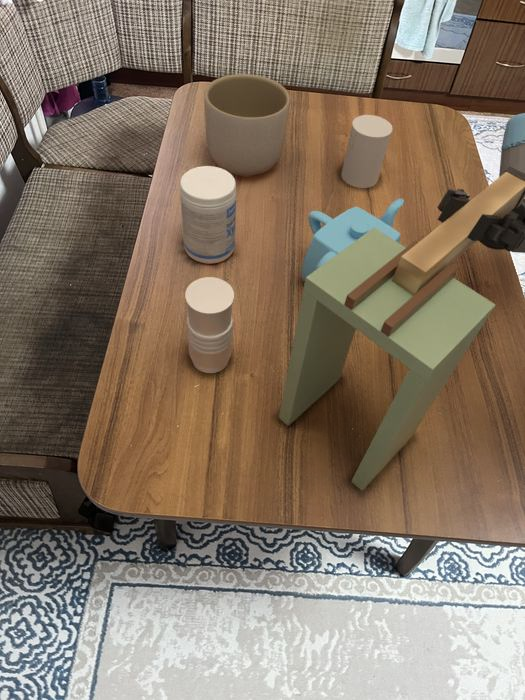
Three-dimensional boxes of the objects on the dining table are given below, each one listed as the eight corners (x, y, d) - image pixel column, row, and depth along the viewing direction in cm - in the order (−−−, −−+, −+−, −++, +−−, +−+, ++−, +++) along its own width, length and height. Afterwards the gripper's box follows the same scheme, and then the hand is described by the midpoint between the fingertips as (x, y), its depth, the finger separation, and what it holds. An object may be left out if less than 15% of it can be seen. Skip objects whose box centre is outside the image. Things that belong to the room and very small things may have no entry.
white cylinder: (350, 161, 120) (362, 110, 111) (383, 174, 118) (398, 123, 109) (335, 179, 116) (345, 127, 106) (368, 192, 114) (383, 142, 104)
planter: (290, 149, 121) (298, 83, 109) (272, 193, 111) (279, 126, 99) (218, 134, 123) (218, 67, 111) (194, 176, 113) (192, 108, 101)
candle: (241, 359, 86) (245, 296, 74) (207, 383, 82) (206, 322, 70) (213, 333, 88) (213, 269, 76) (180, 355, 85) (174, 292, 73)
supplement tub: (238, 263, 98) (241, 197, 87) (187, 268, 97) (183, 202, 85) (229, 228, 104) (231, 162, 92) (180, 232, 102) (176, 166, 90)
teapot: (391, 322, 93) (414, 267, 82) (297, 311, 92) (309, 254, 82) (385, 250, 103) (405, 193, 93) (301, 241, 103) (312, 182, 93)
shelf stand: (411, 437, 79) (502, 294, 54) (362, 491, 74) (438, 360, 48) (329, 372, 85) (377, 216, 60) (278, 417, 80) (307, 266, 54)
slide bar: (520, 205, 66) (535, 179, 63) (416, 298, 55) (427, 272, 52) (496, 191, 67) (509, 165, 64) (389, 280, 56) (399, 254, 53)
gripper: (541, 275, 74) (508, 290, 55) (443, 217, 80) (383, 213, 61) (578, 227, 70) (556, 225, 51) (472, 170, 76) (418, 150, 57)
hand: (462, 218), depth 56 cm, fingers closed on slide bar, 3 cm apart
